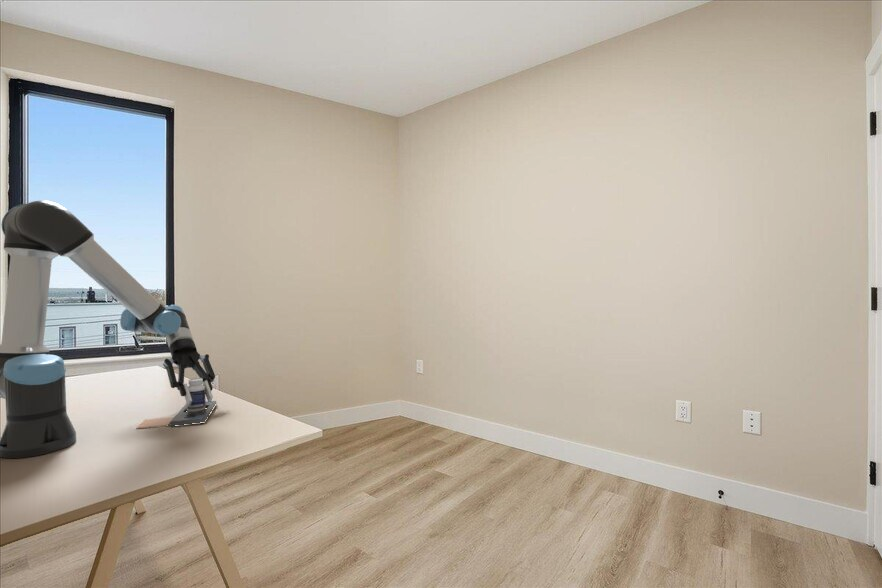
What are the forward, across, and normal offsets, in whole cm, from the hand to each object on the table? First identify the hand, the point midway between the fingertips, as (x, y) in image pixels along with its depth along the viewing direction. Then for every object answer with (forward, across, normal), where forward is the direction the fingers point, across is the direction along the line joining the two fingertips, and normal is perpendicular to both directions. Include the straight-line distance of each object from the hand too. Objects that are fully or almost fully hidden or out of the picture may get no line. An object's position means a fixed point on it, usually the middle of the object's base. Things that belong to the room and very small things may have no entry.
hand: (200, 401), depth 143 cm
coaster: (+2, +12, -5) cm, 13 cm away
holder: (+2, +1, -5) cm, 5 cm away
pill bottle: (0, 0, -5) cm, 5 cm away
